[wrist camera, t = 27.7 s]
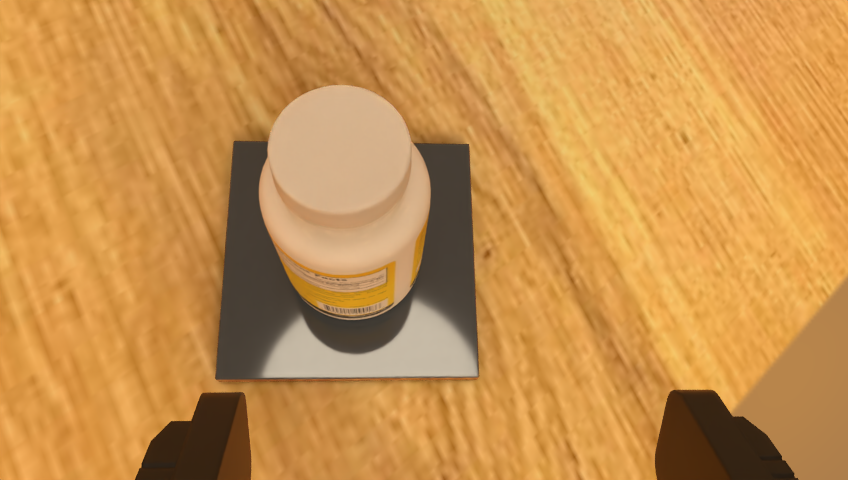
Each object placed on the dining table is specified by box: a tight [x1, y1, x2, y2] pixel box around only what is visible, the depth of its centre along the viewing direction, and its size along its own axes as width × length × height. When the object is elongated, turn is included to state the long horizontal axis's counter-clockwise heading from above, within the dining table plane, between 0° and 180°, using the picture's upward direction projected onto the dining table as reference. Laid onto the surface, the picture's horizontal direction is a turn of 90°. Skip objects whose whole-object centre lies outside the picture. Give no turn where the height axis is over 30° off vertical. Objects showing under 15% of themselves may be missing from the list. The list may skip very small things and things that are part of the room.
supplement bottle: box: [259, 85, 431, 320], centre depth 24 cm, size 5×5×10 cm
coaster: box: [215, 141, 479, 382], centre depth 29 cm, size 10×10×1 cm
